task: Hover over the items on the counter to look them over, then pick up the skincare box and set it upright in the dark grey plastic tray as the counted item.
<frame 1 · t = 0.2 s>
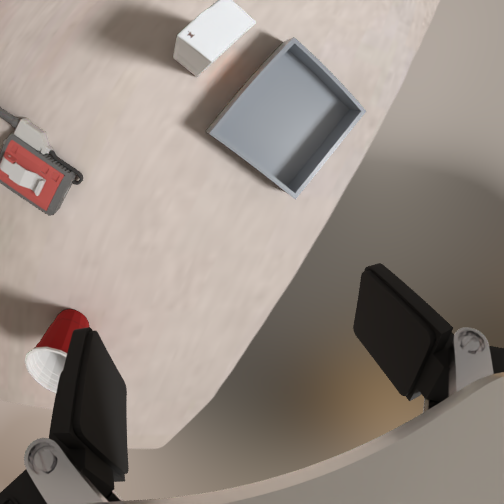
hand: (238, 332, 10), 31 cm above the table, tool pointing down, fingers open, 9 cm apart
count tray: (285, 116, 37), on the table
walkie-talkie: (24, 153, 29), on the table
plastic cup: (72, 322, 42), on the table
skincare box: (201, 51, 30), on the table
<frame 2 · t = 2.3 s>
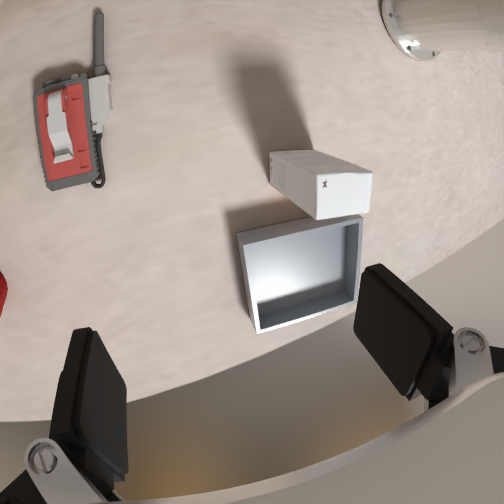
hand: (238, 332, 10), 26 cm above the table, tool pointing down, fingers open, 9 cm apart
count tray: (298, 265, 42), on the table
walkie-talkie: (76, 102, 25), on the table
skincare box: (291, 166, 35), on the table
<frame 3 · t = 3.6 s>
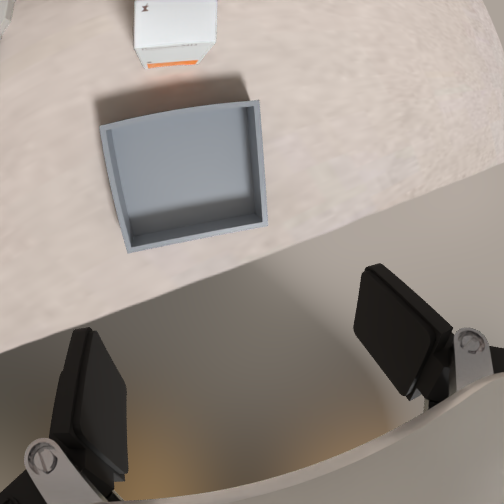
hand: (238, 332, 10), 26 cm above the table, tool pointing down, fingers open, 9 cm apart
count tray: (185, 170, 32), on the table
skincare box: (171, 50, 26), on the table
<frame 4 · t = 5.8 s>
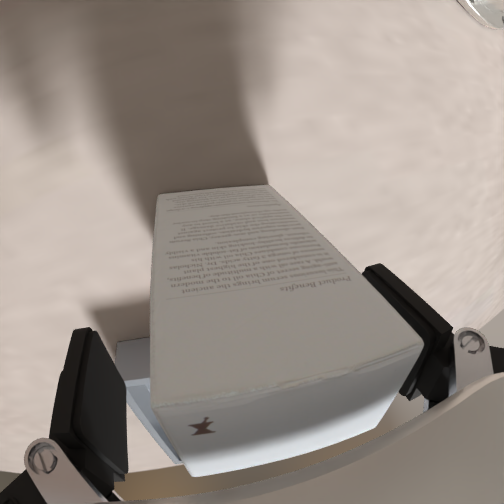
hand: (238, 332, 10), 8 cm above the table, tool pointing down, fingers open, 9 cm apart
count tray: (242, 382, 23), on the table
skincare box: (217, 222, 16), on the table
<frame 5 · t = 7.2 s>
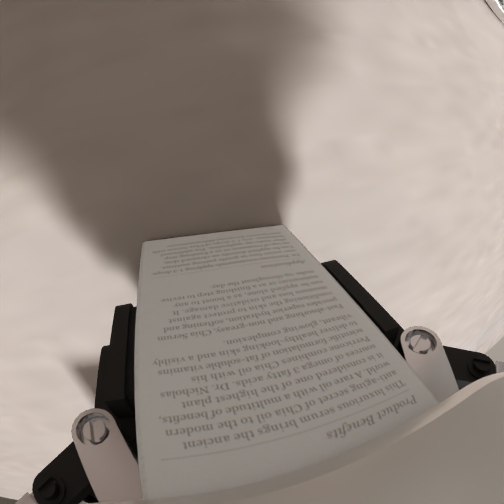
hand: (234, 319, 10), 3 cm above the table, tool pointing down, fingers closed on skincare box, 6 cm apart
skincare box: (218, 272, 13), on the table, touching gripper
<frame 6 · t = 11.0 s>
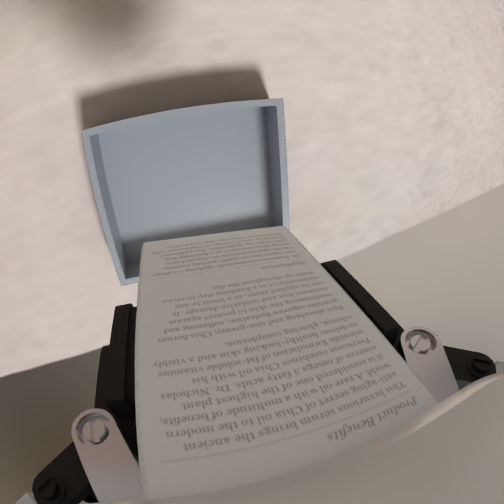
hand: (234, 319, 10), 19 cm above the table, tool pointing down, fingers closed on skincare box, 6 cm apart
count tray: (190, 183, 27), on the table
skincare box: (218, 273, 13), point 16 cm above the table, touching gripper
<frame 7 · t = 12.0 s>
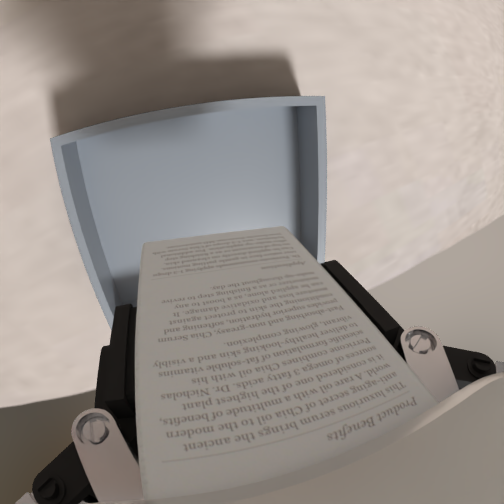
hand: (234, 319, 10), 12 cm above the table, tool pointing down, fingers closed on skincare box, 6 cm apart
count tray: (198, 205, 21), on the table
skincare box: (218, 273, 13), point 9 cm above the table, touching gripper
when the fingers open (5 cm above the table, at t = 14.2 s): skincare box drops 1 cm, resting on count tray.
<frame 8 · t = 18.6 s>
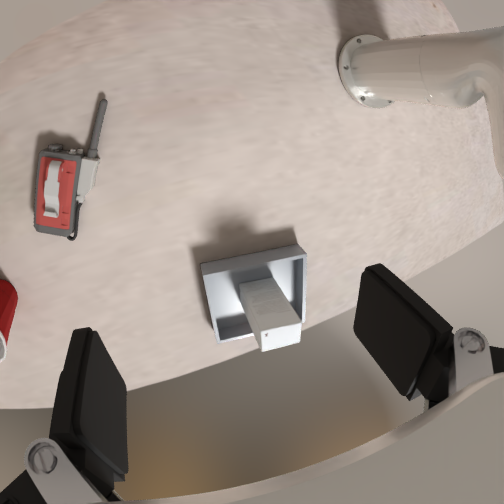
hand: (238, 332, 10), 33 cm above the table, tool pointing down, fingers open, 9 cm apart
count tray: (253, 289, 51), on the table
walkie-talkie: (70, 167, 35), on the table
plastic cup: (4, 291, 38), on the table
skincare box: (256, 289, 51), resting on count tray
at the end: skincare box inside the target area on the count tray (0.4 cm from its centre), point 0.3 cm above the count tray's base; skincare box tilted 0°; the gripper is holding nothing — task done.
